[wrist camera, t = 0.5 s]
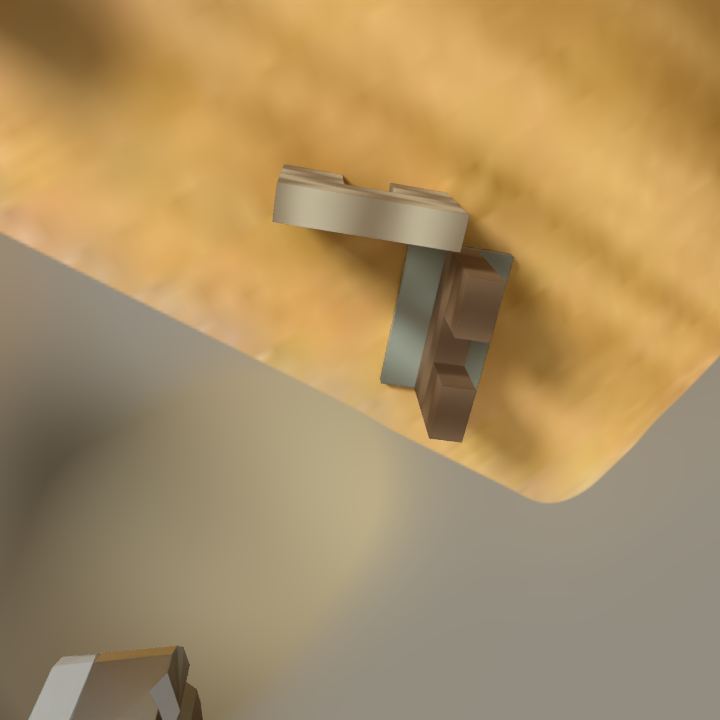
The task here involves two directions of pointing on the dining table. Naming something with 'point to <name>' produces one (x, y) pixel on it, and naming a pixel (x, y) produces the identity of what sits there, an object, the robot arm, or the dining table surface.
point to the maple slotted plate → (369, 210)
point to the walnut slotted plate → (444, 331)
